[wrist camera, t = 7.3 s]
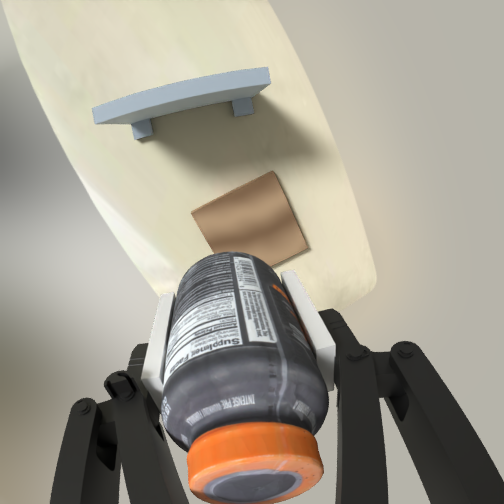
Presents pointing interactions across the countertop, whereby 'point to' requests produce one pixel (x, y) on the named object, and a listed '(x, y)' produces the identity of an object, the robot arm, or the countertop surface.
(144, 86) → the countertop surface
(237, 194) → the plinth
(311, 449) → the pill bottle
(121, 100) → the screen
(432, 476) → the robot arm
